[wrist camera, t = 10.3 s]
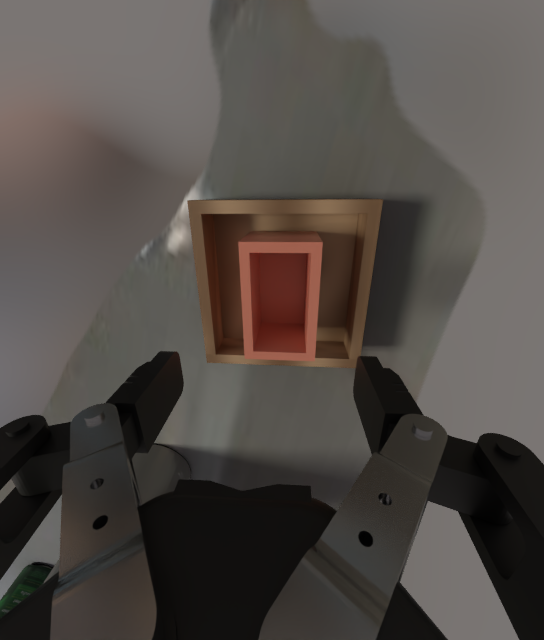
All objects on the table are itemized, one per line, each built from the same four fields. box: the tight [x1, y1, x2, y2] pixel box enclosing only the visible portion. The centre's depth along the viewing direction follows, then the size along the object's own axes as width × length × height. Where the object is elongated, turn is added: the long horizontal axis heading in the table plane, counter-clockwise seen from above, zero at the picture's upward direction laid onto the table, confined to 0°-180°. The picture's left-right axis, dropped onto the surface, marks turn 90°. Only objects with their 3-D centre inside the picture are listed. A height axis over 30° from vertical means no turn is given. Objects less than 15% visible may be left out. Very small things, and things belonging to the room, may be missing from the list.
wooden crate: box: [188, 199, 383, 368], centre depth 24 cm, size 14×14×4 cm
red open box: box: [238, 231, 323, 361], centre depth 23 cm, size 9×6×6 cm, turn 0°
